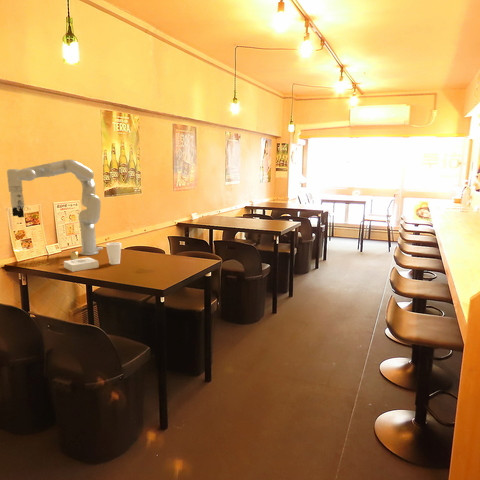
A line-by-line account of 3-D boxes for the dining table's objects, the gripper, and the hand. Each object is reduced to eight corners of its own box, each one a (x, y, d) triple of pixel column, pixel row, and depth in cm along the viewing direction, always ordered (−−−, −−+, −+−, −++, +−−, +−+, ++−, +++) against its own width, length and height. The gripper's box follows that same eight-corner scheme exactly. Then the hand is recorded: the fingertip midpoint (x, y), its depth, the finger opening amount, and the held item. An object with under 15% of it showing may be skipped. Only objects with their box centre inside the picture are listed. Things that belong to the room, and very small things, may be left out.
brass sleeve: (77, 261, 267) (76, 250, 266) (79, 262, 264) (78, 251, 263) (70, 262, 264) (69, 251, 263) (72, 263, 261) (71, 252, 260)
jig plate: (89, 263, 261) (89, 257, 261) (98, 267, 251) (98, 261, 251) (64, 267, 251) (63, 261, 250) (72, 271, 241) (72, 265, 240)
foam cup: (125, 262, 264) (124, 243, 261) (115, 265, 255) (114, 245, 253) (114, 261, 268) (112, 241, 265) (103, 264, 259) (102, 244, 257)
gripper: (27, 189, 249) (29, 217, 252) (17, 188, 260) (20, 214, 264) (13, 190, 243) (16, 218, 246) (4, 188, 255) (7, 215, 258)
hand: (18, 216), depth 255 cm, fingers open, 9 cm apart
